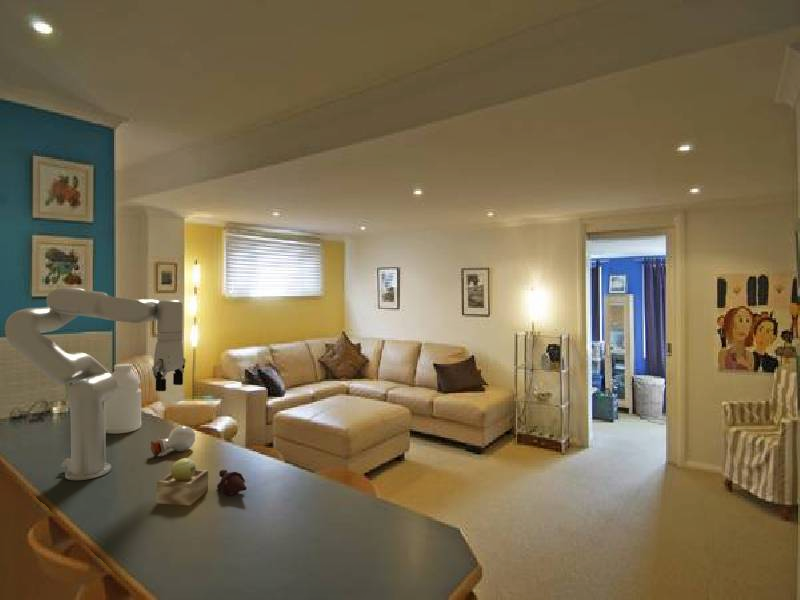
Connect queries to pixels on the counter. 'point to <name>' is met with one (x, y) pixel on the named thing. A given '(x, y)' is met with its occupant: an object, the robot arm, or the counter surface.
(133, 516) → the counter surface
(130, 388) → the bottle
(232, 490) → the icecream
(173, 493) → the wooden box
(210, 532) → the counter surface
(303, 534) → the counter surface
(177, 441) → the potion bottle
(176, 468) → the tennis ball
